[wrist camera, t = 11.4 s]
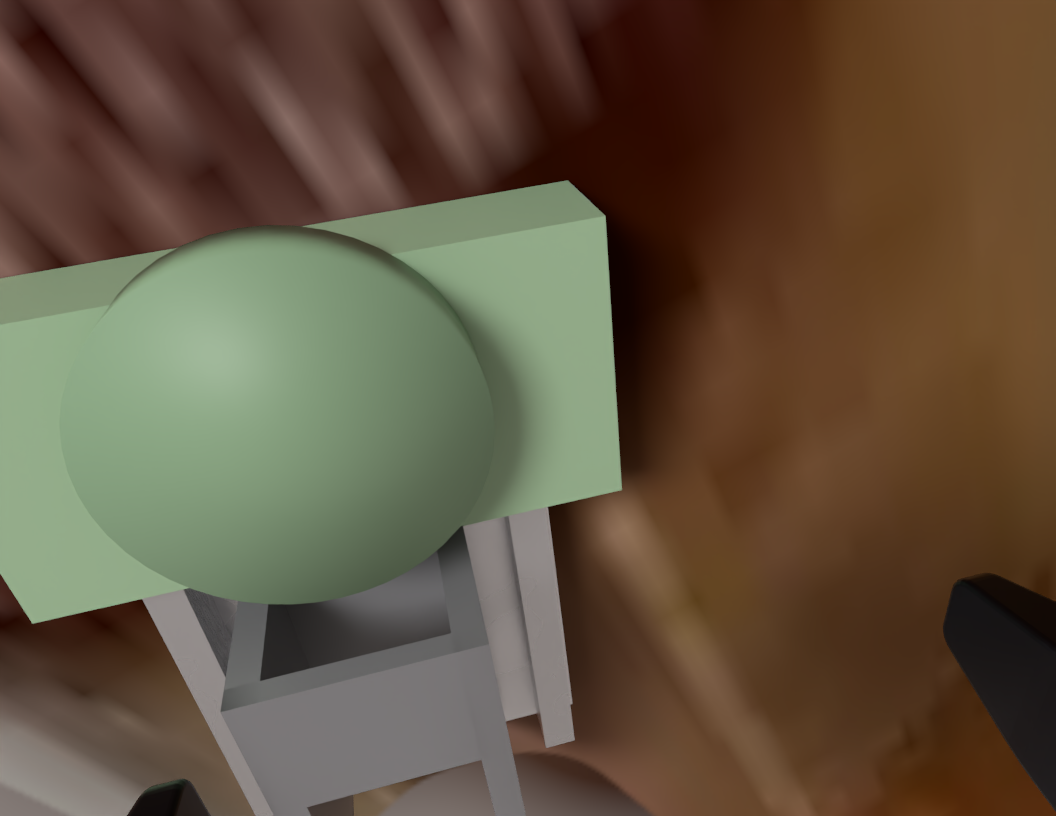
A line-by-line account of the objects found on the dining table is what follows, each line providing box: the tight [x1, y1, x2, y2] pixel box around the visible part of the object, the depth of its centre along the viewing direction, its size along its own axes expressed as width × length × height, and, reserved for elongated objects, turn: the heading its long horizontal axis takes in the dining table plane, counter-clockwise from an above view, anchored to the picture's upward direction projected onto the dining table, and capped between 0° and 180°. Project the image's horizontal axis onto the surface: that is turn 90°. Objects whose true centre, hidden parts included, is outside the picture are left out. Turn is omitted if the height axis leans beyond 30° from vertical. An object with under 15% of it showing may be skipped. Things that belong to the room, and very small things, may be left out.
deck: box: [0, 181, 622, 816], centre depth 20 cm, size 14×19×4 cm
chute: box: [220, 526, 526, 816], centre depth 21 cm, size 6×9×5 cm, turn 7°
